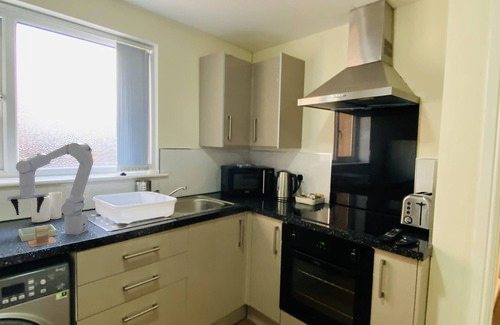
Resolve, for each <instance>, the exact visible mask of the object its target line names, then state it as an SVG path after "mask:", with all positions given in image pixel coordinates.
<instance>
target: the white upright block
mask: <svg viewBox="0 0 500 325" xmlns="http://www.w3.org/2000/svg"><path fill="white" fill-rule="evenodd" d="M47 194H48V195H47V196H49V197H50V219H51V220H59V219H61V218H62V211H61V207H62V205H63V197H64V196H63V192H62V191H50V192H48V193H47Z"/></svg>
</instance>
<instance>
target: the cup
mask: <svg viewBox="0 0 500 325" xmlns="http://www.w3.org/2000/svg"><path fill="white" fill-rule="evenodd" d="M30 200H31V201H30V215H31V222H32V223H42V222H47V221H50V219H51V218H50V197H49V196H48V195H47V197H44V201H43V203H42V205H41V207H40V211H39V213H37V198H30Z"/></svg>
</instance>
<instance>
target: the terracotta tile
mask: <svg viewBox="0 0 500 325" xmlns="http://www.w3.org/2000/svg"><path fill="white" fill-rule="evenodd" d="M48 238H49V241H48V242H43V243H38V244H37V243H36V240H35V239H34V240H29V241H27V244H28V245H29V247H30V248H33V247H39V246H43V245H49V244H55V243H57V240H56V239H55V238H54V236H51V237H48Z"/></svg>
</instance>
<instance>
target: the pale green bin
mask: <svg viewBox="0 0 500 325" xmlns="http://www.w3.org/2000/svg"><path fill="white" fill-rule="evenodd" d="M43 226H47V227H48V238H49V237H57V236H58V233H57V228H55V226H54V225H53V224H51V223H50V224H44V225H38V226H32V227H25V228H23V227H22V228H18V236H19V238H20V240H21V242H28V241H32V240H35V228H37V227H43Z"/></svg>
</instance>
